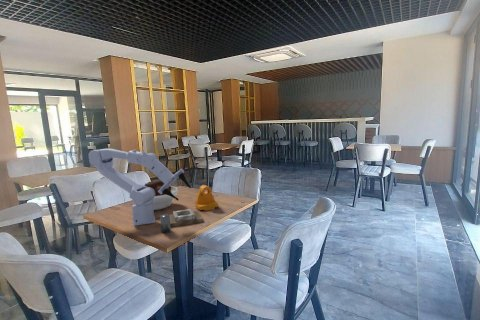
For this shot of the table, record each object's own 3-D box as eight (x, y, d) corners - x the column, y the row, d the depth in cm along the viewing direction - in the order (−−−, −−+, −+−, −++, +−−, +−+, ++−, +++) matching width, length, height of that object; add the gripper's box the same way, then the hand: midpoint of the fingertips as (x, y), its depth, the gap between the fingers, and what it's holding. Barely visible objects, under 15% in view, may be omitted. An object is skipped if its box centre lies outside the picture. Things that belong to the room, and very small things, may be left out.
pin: (161, 234, 109) (160, 218, 108) (161, 230, 113) (159, 214, 112) (171, 232, 110) (170, 216, 109) (170, 228, 114) (169, 213, 113)
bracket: (200, 211, 135) (198, 189, 133) (195, 208, 141) (194, 186, 139) (218, 207, 140) (217, 186, 138) (213, 204, 146) (212, 183, 144)
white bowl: (141, 219, 127) (138, 189, 124) (125, 207, 146) (123, 181, 144) (187, 207, 142) (185, 180, 140) (167, 198, 161) (166, 174, 159)
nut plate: (167, 227, 115) (167, 220, 115) (165, 218, 127) (165, 211, 126) (203, 221, 121) (202, 214, 120) (198, 213, 132) (198, 206, 131)
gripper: (149, 183, 112) (171, 205, 111) (173, 160, 116) (195, 180, 115) (152, 185, 119) (173, 206, 118) (175, 163, 123) (196, 183, 122)
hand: (184, 193), depth 117 cm, fingers open, 7 cm apart
